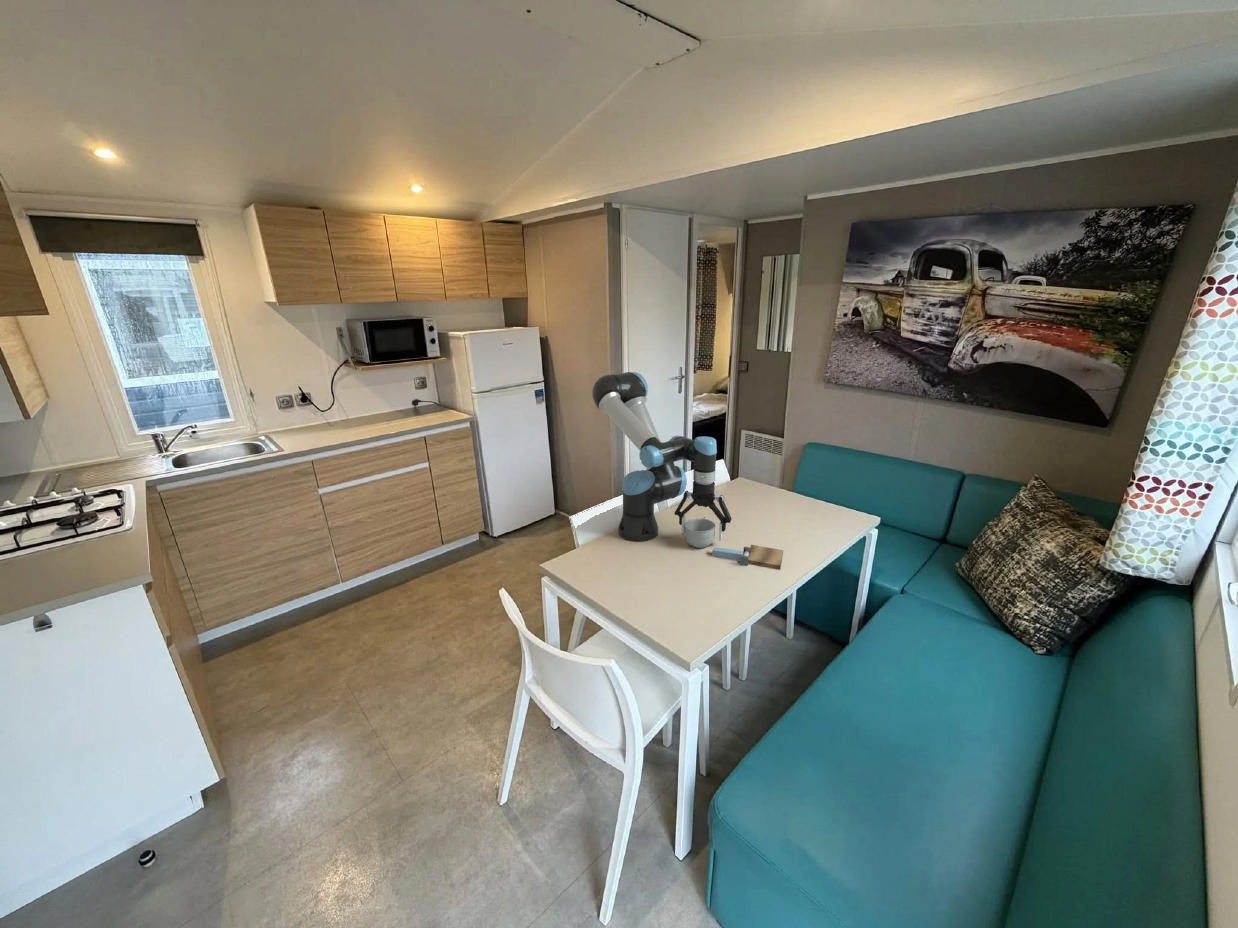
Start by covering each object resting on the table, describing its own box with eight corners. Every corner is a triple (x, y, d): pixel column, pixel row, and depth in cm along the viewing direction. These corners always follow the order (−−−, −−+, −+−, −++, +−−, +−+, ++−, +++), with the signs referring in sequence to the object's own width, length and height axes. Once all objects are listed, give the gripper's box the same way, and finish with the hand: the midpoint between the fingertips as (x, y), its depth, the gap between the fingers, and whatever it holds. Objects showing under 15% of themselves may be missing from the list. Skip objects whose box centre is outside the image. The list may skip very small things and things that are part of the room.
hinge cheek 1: (743, 555, 166) (743, 547, 165) (743, 554, 167) (744, 546, 166) (750, 556, 166) (750, 549, 165) (750, 555, 166) (751, 547, 165)
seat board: (746, 563, 162) (746, 559, 161) (750, 548, 171) (751, 544, 171) (780, 569, 158) (780, 565, 157) (783, 553, 167) (783, 550, 167)
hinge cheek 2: (740, 564, 161) (740, 556, 160) (740, 563, 162) (741, 555, 161) (747, 565, 160) (748, 557, 159) (747, 564, 161) (748, 556, 160)
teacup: (705, 554, 168) (706, 533, 165) (678, 545, 174) (678, 525, 171) (723, 539, 178) (724, 519, 176) (696, 531, 184) (697, 512, 182)
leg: (748, 557, 165) (749, 550, 165) (746, 563, 161) (747, 556, 161) (714, 552, 170) (714, 545, 169) (711, 558, 166) (711, 551, 165)
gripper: (666, 480, 170) (665, 534, 176) (738, 489, 160) (734, 546, 167) (672, 473, 176) (671, 526, 183) (742, 481, 167) (738, 536, 174)
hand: (701, 535), depth 175 cm, fingers open, 13 cm apart
